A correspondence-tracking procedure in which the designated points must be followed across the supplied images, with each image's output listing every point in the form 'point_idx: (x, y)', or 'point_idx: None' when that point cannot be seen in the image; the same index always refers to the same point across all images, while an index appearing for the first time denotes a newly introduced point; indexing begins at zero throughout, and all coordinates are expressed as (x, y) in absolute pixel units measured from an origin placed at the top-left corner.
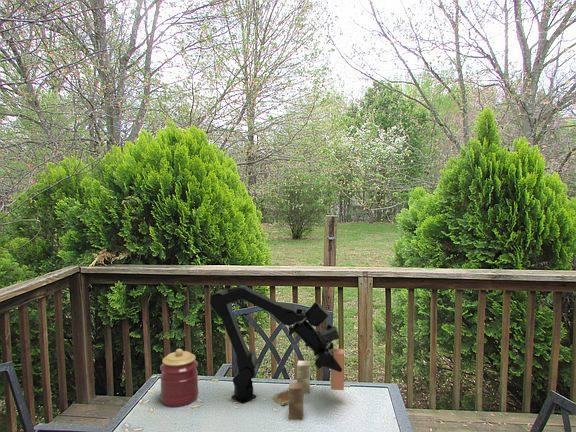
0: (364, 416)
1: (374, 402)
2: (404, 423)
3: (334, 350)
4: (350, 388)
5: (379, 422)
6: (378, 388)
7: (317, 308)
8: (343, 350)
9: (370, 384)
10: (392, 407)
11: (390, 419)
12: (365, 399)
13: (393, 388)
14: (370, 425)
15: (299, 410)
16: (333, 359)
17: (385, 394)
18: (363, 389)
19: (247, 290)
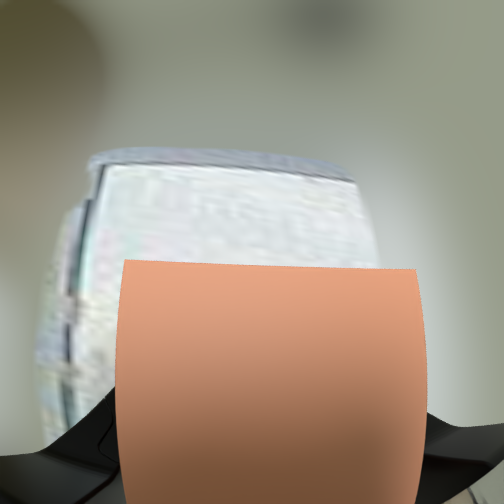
0: (323, 267)
1: (214, 218)
2: (332, 164)
3: (265, 495)
4: (96, 299)
5: (347, 225)
6: (107, 192)
7: None
8: (234, 267)
9: (75, 215)
10: (246, 170)
11: (322, 192)
12: (191, 248)
13: (117, 150)
14: (369, 255)
15: None
16: (445, 427)
17: (154, 175)
18: (107, 246)
19: None
